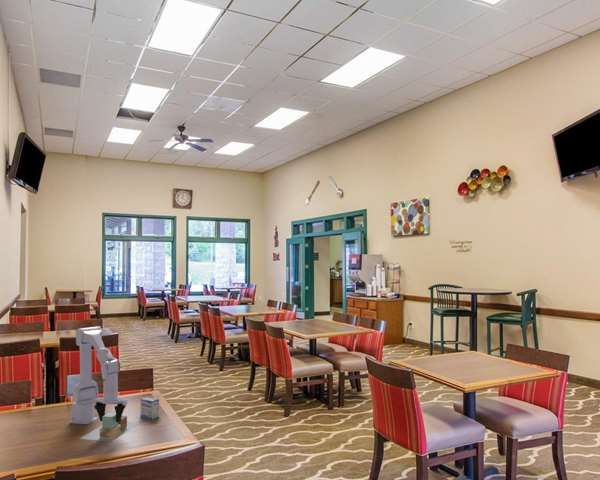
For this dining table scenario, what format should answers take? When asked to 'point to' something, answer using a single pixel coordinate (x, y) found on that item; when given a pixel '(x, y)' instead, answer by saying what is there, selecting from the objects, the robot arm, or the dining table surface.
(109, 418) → the sage-green block
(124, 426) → the walnut block
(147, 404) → the medicine box
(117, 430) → the oak base block
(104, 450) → the dining table surface
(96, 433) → the blueprint board
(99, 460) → the dining table surface
